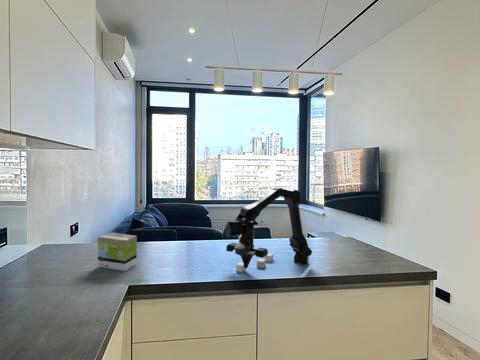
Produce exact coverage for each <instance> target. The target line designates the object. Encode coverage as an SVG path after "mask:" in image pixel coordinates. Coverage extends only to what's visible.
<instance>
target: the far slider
mask: <svg viewBox="0 0 480 360" xmlns="http://www.w3.org/2000/svg"><path fill="white" fill-rule="evenodd" d="M264 259H266V262H268V263H271V262H272V261H274V254H273V253H270V252H268V255H266V256H265V257H264Z"/></svg>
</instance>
